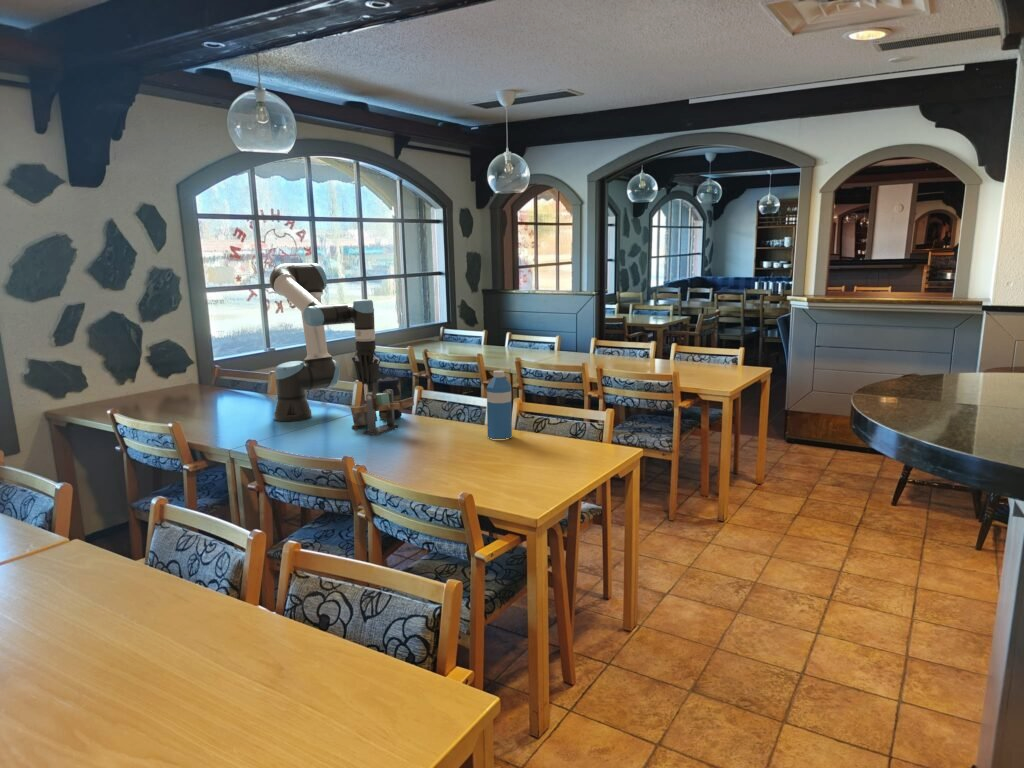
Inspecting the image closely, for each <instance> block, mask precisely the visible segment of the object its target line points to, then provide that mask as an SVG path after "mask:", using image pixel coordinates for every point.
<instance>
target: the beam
mask: <svg viewBox="0 0 1024 768" xmlns="http://www.w3.org/2000/svg"><path fill="white" fill-rule="evenodd" d="M383 393H388V395H389V392H388V391H383ZM376 394H377V393H372V395H374V400H375V420H376V422H378V417H377V412H379V411H383V410H395V409H402V410H403V409H406V408H409V407H413V406H415V402H414V398H413V396H412V397H409V398H405V399H401V401H393V402H390V404H383V405H378V402H377V397H376ZM350 411H351V415H352V421H353V425H354V426H357V425H367V424H368V422H367V403H364V404H361V406H354V407H350Z"/></svg>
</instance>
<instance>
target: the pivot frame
mask: <svg viewBox="0 0 1024 768" xmlns="http://www.w3.org/2000/svg"><path fill="white" fill-rule="evenodd" d="M385 391H388V392H389V395H388V396H389V401H390V402H393V401H394V397H393V390H390V389H386V390H385ZM365 404H367V422H368V427H367V430H364V431H363V434H364V435H370V436H378V435H381V433H382V434H384V432H385V433H387V432H390V431H393V430H396V429H398V427H399V428H400V425H398V424H396V422H395V420H396V419H394V410H386V416H387V420H386V423H385V424H383V425H380V426H377V423H376V422H377V421H376V420H375V400H374V395H370V394H367V395H366V403H365ZM395 428H396V429H395ZM392 429H393V430H392Z"/></svg>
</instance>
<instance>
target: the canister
mask: <svg viewBox="0 0 1024 768" xmlns="http://www.w3.org/2000/svg"><path fill="white" fill-rule="evenodd" d="M376 384H377V385H376V386H377V387H376V389H377V394H380V393H383V391H385V390H386V389H390V390H393V397H394V401H401V400H402V394H401V392H402V391H401V389H402V388H401V379H400V378H398V377H397V376H396V377H395V376H389V375H387V376H384V377H381V378H379V379H378V378H377V382H376ZM402 411H403V409H395V410H394V419H395V420H397V419H400V418H401V417H402ZM378 417H379V418H380V419H381V420H386V421H387V416H386V410H383V411H378Z"/></svg>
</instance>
